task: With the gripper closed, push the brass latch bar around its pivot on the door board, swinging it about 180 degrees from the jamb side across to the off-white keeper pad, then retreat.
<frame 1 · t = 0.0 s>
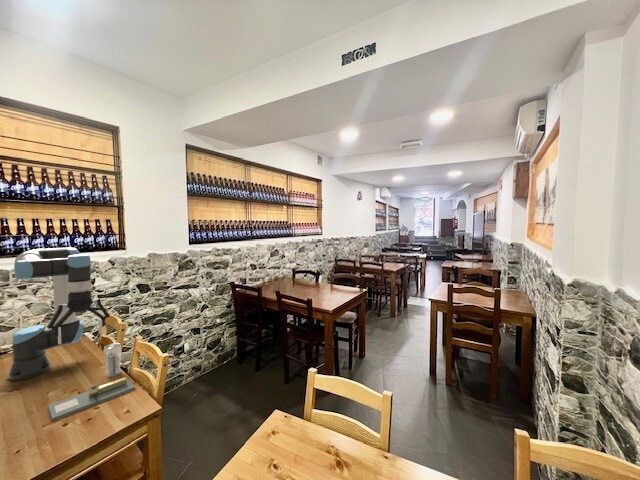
hand: (81, 338, 118), 28 cm above the table, fingers open, 13 cm apart
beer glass: (113, 374, 141), on the table
door board: (94, 398, 121), on the table
latch bar: (108, 385, 125), point 4 cm above the table, hinge at 0.0°
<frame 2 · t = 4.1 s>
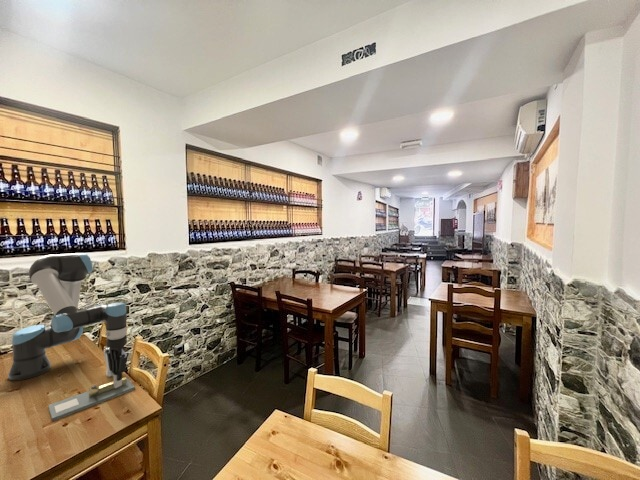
hand: (117, 386, 126), 3 cm above the table, fingers closed
latch bar: (108, 385, 125), point 3 cm above the table, hinge at 0.2°, touching gripper
everything else where it was.
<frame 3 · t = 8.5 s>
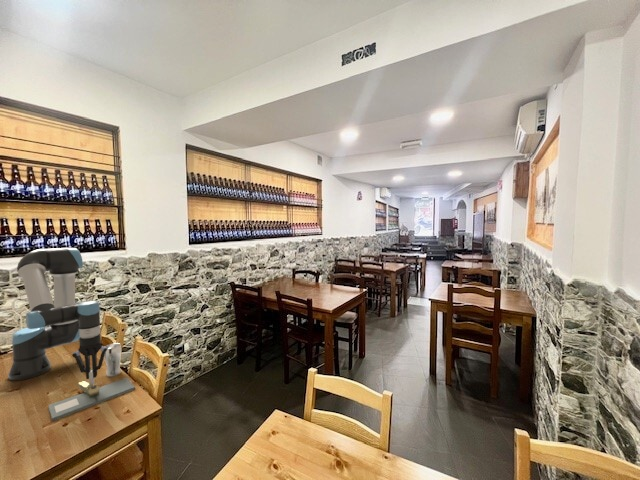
hand: (92, 384, 126), 3 cm above the table, fingers closed
latch bar: (88, 387, 123), point 4 cm above the table, hinge at 103.1°, touching gripper
everything else where it was.
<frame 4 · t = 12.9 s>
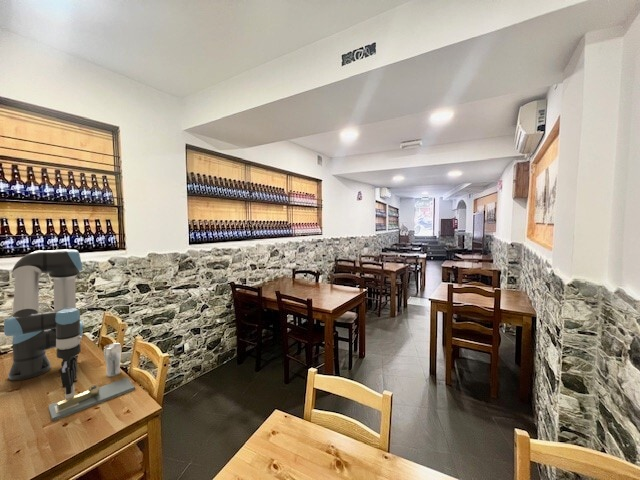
hand: (70, 399, 116), 3 cm above the table, fingers closed
latch bar: (79, 396, 116), point 4 cm above the table, hinge at 188.3°
everything else where it was.
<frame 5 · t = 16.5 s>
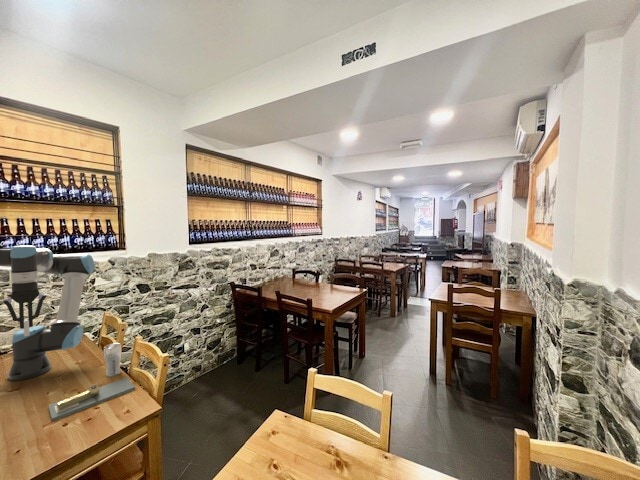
hand: (26, 335, 117), 29 cm above the table, fingers closed
nothing on the table moved.
at the end: latch bar at +188° (first picture: +0°) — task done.
